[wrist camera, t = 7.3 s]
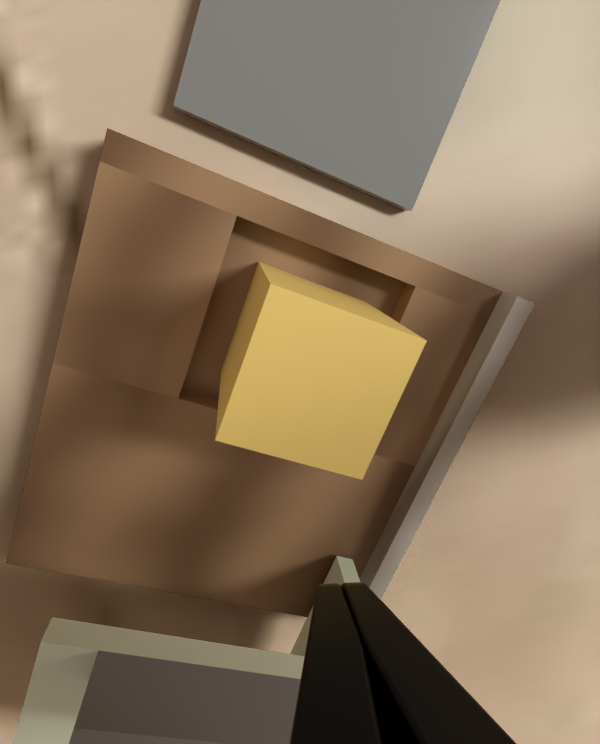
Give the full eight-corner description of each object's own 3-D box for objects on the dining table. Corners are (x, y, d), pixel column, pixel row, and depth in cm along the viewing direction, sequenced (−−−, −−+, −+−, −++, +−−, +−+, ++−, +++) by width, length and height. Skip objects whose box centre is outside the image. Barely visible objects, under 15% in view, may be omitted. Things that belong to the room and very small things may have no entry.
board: (503, 295, 19) (541, 305, 17) (350, 601, 23) (363, 644, 21) (118, 136, 15) (97, 121, 13) (22, 538, 20) (-7, 582, 17)
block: (365, 301, 18) (427, 340, 12) (324, 402, 19) (362, 479, 13) (258, 261, 17) (270, 283, 11) (221, 370, 18) (214, 440, 12)
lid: (352, 559, 20) (423, 763, 13) (284, 699, 23) (309, 943, 15) (103, 504, 18) (4, 720, 10) (55, 670, 20) (-56, 947, 12)
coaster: (517, -56, 15) (528, -67, 14) (406, 210, 17) (411, 210, 17) (263, -221, 13) (265, -241, 12) (175, 109, 15) (173, 105, 15)
